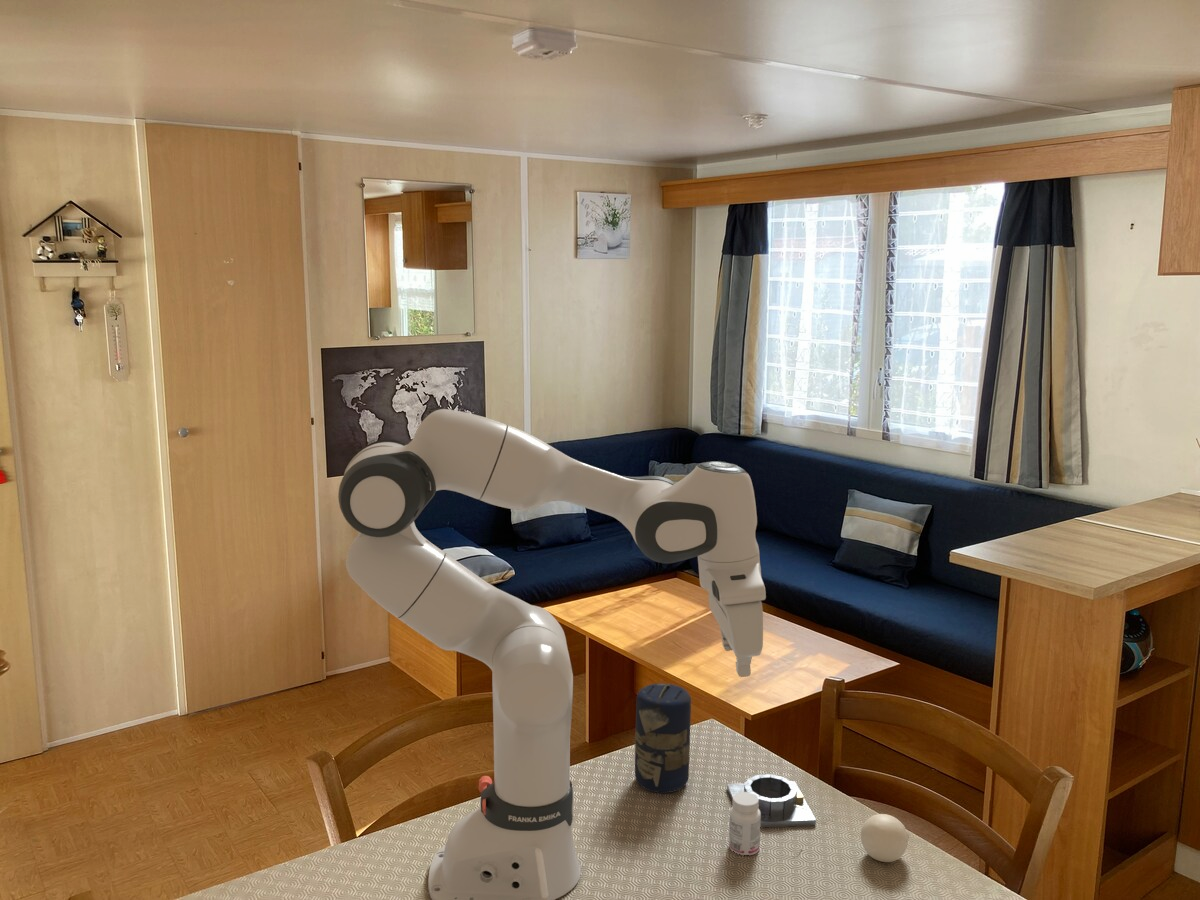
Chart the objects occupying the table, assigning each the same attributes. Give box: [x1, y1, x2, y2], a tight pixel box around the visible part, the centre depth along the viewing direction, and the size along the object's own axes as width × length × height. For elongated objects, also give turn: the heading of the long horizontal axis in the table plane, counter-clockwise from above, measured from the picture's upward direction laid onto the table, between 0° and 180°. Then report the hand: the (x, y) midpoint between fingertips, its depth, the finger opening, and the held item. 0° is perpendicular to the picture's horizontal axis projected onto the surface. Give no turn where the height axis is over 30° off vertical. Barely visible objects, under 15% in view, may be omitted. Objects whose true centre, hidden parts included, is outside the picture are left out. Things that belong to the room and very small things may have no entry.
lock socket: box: [726, 773, 817, 828], centre depth 162 cm, size 12×12×4 cm
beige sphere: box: [860, 813, 910, 863], centre depth 148 cm, size 7×7×7 cm
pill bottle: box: [728, 792, 761, 856], centre depth 150 cm, size 5×5×8 cm
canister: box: [634, 682, 692, 793], centre depth 168 cm, size 10×10×18 cm
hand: (736, 661), depth 142 cm, fingers open, 8 cm apart
